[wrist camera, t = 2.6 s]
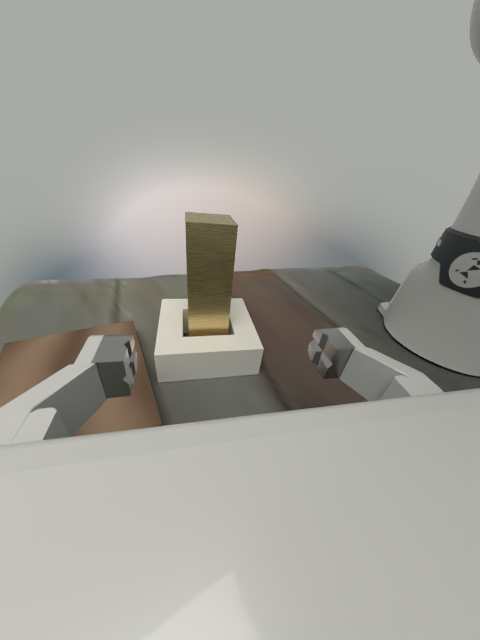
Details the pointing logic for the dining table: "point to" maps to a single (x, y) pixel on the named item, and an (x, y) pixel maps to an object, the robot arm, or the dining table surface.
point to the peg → (209, 272)
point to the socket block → (205, 346)
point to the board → (62, 350)
